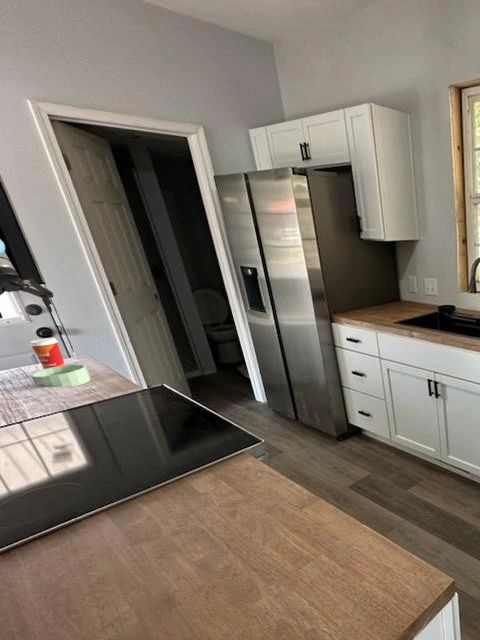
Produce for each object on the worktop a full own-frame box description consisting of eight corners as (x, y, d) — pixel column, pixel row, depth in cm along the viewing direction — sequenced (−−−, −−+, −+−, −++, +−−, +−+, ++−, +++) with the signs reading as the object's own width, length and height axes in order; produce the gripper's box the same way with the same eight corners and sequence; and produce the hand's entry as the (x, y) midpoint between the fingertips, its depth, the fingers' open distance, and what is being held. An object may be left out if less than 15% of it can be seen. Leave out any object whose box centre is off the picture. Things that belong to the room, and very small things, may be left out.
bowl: (34, 385, 155) (28, 371, 153) (86, 374, 166) (81, 361, 164) (40, 394, 147) (33, 379, 145) (94, 382, 158) (88, 368, 156)
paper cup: (38, 375, 165) (23, 342, 160) (62, 369, 172) (47, 337, 167) (52, 377, 164) (37, 343, 158) (75, 370, 170) (61, 338, 165)
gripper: (47, 275, 179) (70, 313, 177) (-44, 282, 160) (-20, 324, 158) (45, 263, 174) (68, 302, 172) (-50, 269, 155) (-25, 312, 153)
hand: (26, 313), depth 165 cm, fingers open, 13 cm apart
